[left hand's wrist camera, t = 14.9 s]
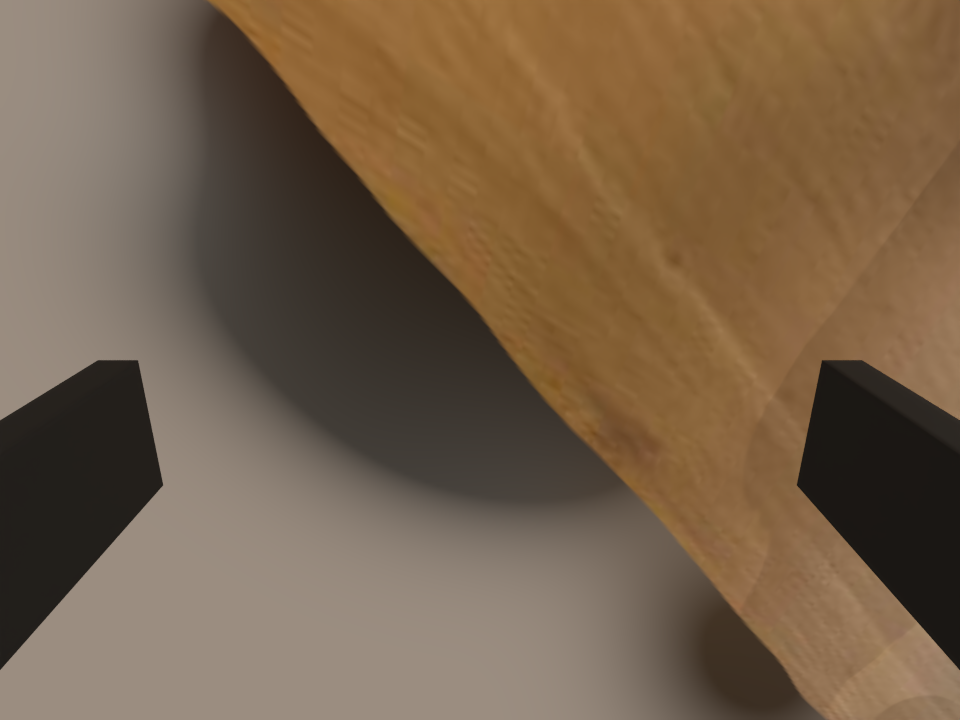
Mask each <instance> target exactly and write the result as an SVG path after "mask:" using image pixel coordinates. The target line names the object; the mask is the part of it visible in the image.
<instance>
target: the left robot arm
mask: <svg viewBox="0 0 960 720" xmlns="http://www.w3.org/2000/svg"><path fill="white" fill-rule="evenodd" d="M162 486H163V482H162V477H161V472H160V467H159V462H158V458H157V453H156V448H155V443H154V438H153V433H152V428H151V423H150V418H149V413H148V408H147V403H146V398H145V393H144V388H143V383H142V378H141V373H140V368H139V363H138V361H137V360H98V361H96V362H95V363H93V364H91V365H90V366H88V367H86V368H85V369H83V370H82V371H80V372H78V373H77V374H75V375H74V376H72V377H70V378H69V379H67V380H65V381H64V382H62V383H60V384H59V385H57V386H56V387H54V388H52V389H51V390H49V391H47V392H46V393H44V394H43V395H41V396H39V397H38V398H36V399H34V400H33V401H31V402H29V403H28V404H26V405H25V406H23V407H21V408H20V409H18V410H16V411H15V412H13V413H12V414H10V415H8V416H7V417H5V418H3V419H2V420H0V670H1V668H2V667H3V666H4V665H5V664H6V663H7V662H8V660H9V659H10V658H11V657H12V656H13V655H14V654H15V653H16V651H17V650H18V649H19V648H20V647H21V646H22V645H23V643H24V642H25V641H26V640H27V639H28V638H29V637H30V635H31V634H32V633H33V632H34V631H35V630H36V629H37V628H38V626H39V625H40V624H41V623H42V622H43V621H44V620H45V619H46V617H47V616H48V615H49V614H50V613H51V612H52V611H53V609H54V608H55V607H56V606H57V605H58V604H59V603H60V602H61V600H62V599H63V598H64V597H65V596H66V595H67V594H68V592H69V591H70V590H71V589H72V588H73V587H74V586H75V584H76V583H77V582H78V581H79V580H80V579H81V578H82V577H83V575H84V574H85V573H86V572H87V571H88V570H89V569H90V567H91V566H92V565H93V564H94V563H95V562H96V561H97V560H98V558H99V557H100V556H101V555H102V554H103V553H104V552H105V550H106V549H107V548H108V547H109V546H110V545H111V544H112V543H113V541H114V540H115V539H116V538H117V537H118V536H119V535H120V533H121V532H122V531H123V530H124V529H125V528H126V527H127V526H128V524H129V523H130V522H131V521H132V520H133V519H134V518H135V516H136V515H137V514H138V513H139V512H140V511H141V510H142V509H143V507H144V506H145V505H146V504H147V503H148V502H149V501H150V499H151V498H152V497H153V496H154V495H155V494H156V493H157V492H158V490H159V489H160V488H161V487H162ZM797 486H798V487H799V488H800V489H801V490H802V492H803V493H804V494H805V495H806V496H807V497H808V498H809V499H810V501H811V502H812V503H813V504H814V505H815V506H816V507H817V509H818V510H819V511H820V512H821V513H822V514H823V515H824V516H825V518H826V519H827V520H828V521H829V522H830V523H831V524H832V526H833V527H834V528H835V529H836V530H837V531H838V532H839V533H840V535H841V536H842V537H843V538H844V539H845V540H846V541H847V543H848V544H849V545H850V546H851V547H852V548H853V549H854V550H855V552H856V553H857V554H858V555H859V556H860V557H861V558H862V560H863V561H864V562H865V563H866V564H867V565H868V566H869V567H870V569H871V570H872V571H873V572H874V573H875V574H876V575H877V577H878V578H879V579H880V580H881V581H882V582H883V583H884V585H885V586H886V587H887V588H888V589H889V590H890V591H891V592H892V594H893V595H894V596H895V597H896V598H897V599H898V600H899V602H900V603H901V604H902V605H903V606H904V607H905V608H906V609H907V611H908V612H909V613H910V614H911V615H912V616H913V617H914V619H915V620H916V621H917V622H918V623H919V624H920V625H921V626H922V628H923V629H924V630H925V631H926V632H927V633H928V634H929V636H930V637H931V638H932V639H933V640H934V641H935V642H936V643H937V645H938V646H939V647H940V648H941V649H942V650H943V651H944V653H945V654H946V655H947V656H948V657H949V658H950V659H951V660H952V662H953V663H954V664H955V665H956V666H957V667H958V668H959V670H960V420H958V419H957V418H955V417H953V416H952V415H950V414H948V413H947V412H945V411H944V410H942V409H940V408H939V407H937V406H935V405H934V404H932V403H931V402H929V401H927V400H926V399H924V398H922V397H921V396H919V395H918V394H916V393H914V392H913V391H911V390H909V389H908V388H906V387H905V386H903V385H901V384H900V383H898V382H896V381H895V380H893V379H891V378H890V377H888V376H887V375H885V374H883V373H882V372H880V371H878V370H877V369H875V368H874V367H872V366H870V365H869V364H867V363H865V362H864V361H862V360H822V363H821V368H820V373H819V378H818V383H817V388H816V393H815V398H814V403H813V408H812V413H811V418H810V423H809V428H808V433H807V438H806V443H805V448H804V452H803V457H802V462H801V467H800V472H799V477H798V482H797Z"/></svg>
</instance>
